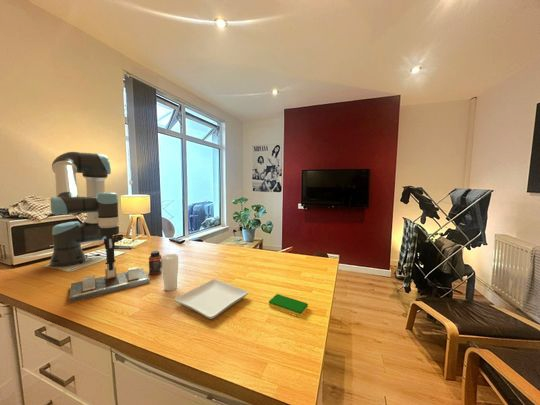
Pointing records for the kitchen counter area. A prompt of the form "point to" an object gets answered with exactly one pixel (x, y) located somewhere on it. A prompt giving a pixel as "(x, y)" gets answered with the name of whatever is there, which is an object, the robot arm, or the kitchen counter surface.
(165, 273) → the white tumbler
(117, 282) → the panel
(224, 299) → the salad plate
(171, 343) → the kitchen counter surface
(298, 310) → the dish sponge
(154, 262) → the supplement bottle
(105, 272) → the toggle
